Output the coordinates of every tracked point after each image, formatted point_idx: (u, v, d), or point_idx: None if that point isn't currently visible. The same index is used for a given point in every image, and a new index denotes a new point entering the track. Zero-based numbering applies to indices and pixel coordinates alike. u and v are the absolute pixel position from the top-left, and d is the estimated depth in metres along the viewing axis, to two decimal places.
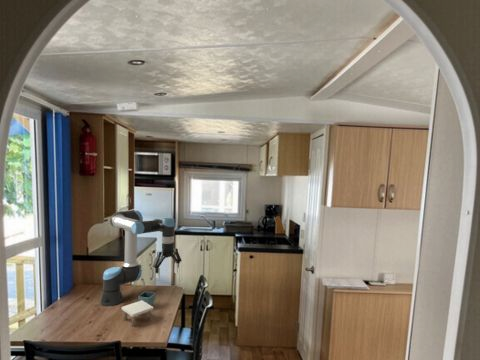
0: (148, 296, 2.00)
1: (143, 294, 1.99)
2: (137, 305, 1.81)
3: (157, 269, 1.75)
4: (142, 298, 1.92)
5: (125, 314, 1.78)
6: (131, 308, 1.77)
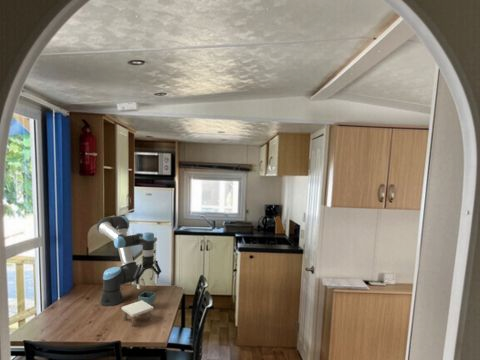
0: (148, 296, 2.00)
1: (143, 294, 1.99)
2: (137, 305, 1.81)
3: (137, 280, 1.90)
4: (142, 298, 1.92)
5: (125, 314, 1.78)
6: (131, 308, 1.77)
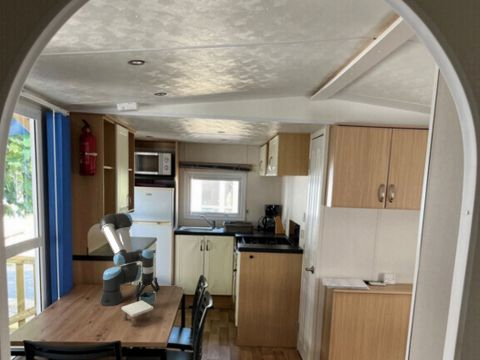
0: (148, 296, 2.00)
1: (143, 294, 1.99)
2: (137, 305, 1.81)
3: (138, 298, 1.90)
4: (142, 298, 1.92)
5: (125, 314, 1.78)
6: (131, 308, 1.77)
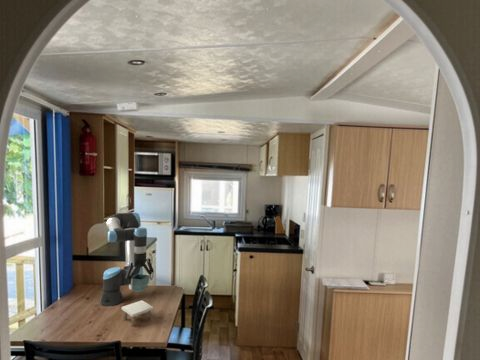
0: (141, 279, 1.85)
1: (135, 276, 1.83)
2: (137, 305, 1.81)
3: (130, 280, 1.75)
4: (134, 280, 1.77)
5: (125, 314, 1.78)
6: (131, 308, 1.77)
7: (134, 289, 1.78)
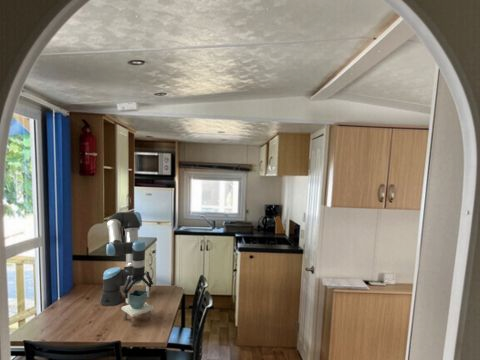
0: (139, 295, 1.83)
1: (134, 292, 1.82)
2: None
3: (126, 294, 1.73)
4: (132, 297, 1.75)
5: (125, 314, 1.78)
6: (131, 308, 1.77)
7: (132, 306, 1.76)
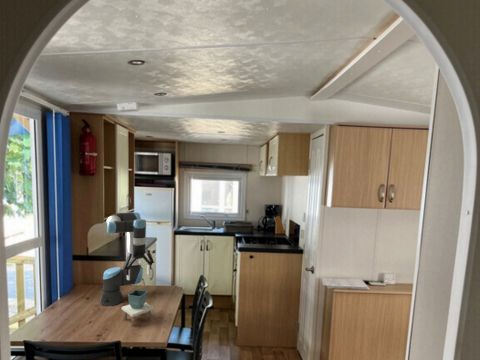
0: (139, 295, 1.83)
1: (134, 292, 1.82)
2: None
3: (127, 271, 1.73)
4: (132, 297, 1.75)
5: (125, 314, 1.78)
6: (131, 308, 1.77)
7: (132, 306, 1.76)
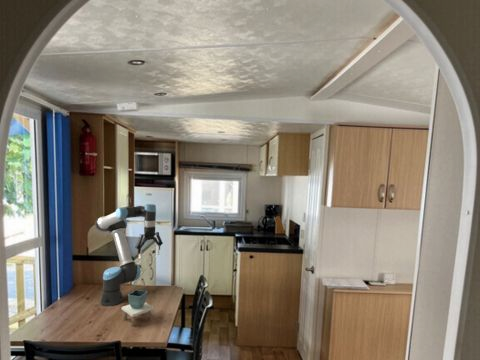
0: (139, 295, 1.83)
1: (134, 292, 1.82)
2: None
3: (139, 250, 1.93)
4: (132, 297, 1.75)
5: (125, 314, 1.78)
6: (131, 308, 1.77)
7: (132, 306, 1.76)
